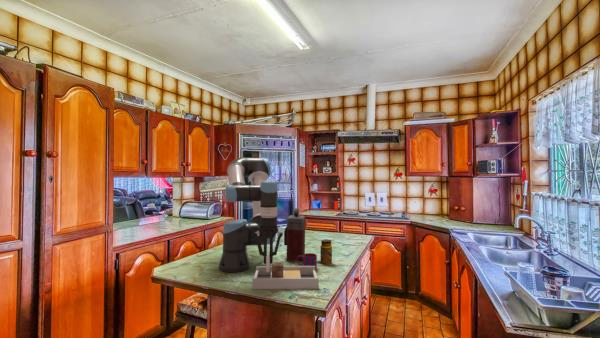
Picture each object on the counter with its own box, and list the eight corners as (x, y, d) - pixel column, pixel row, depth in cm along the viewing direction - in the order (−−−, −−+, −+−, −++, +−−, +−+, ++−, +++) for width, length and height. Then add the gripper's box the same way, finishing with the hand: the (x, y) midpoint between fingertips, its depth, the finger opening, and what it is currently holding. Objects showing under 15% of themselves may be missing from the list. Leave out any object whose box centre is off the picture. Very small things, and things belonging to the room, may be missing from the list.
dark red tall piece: (285, 255, 159) (285, 206, 159) (304, 256, 157) (305, 207, 158) (282, 260, 150) (282, 208, 150) (302, 261, 148) (303, 209, 149)
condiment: (334, 264, 144) (334, 241, 144) (318, 266, 142) (319, 242, 142) (329, 260, 151) (329, 238, 151) (314, 261, 149) (315, 239, 149)
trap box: (252, 289, 112) (252, 279, 112) (256, 274, 128) (256, 266, 128) (318, 288, 113) (318, 278, 114) (314, 274, 129) (314, 265, 129)
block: (271, 277, 118) (271, 265, 118) (272, 273, 123) (272, 262, 123) (283, 277, 118) (283, 265, 118) (283, 273, 123) (283, 262, 123)
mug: (315, 271, 133) (315, 257, 133) (295, 269, 136) (295, 255, 136) (317, 267, 140) (318, 253, 140) (298, 265, 142) (299, 252, 142)
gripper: (252, 217, 117) (251, 274, 116) (283, 217, 117) (282, 274, 117) (254, 215, 124) (254, 268, 124) (283, 215, 125) (283, 268, 124)
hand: (268, 271), depth 120 cm, fingers closed
